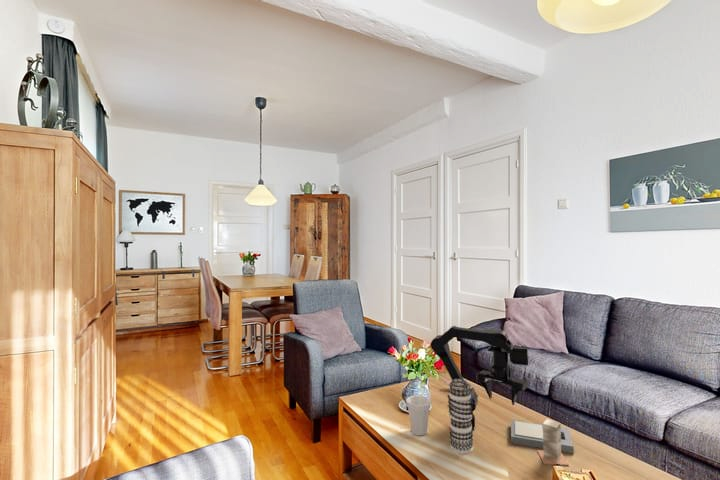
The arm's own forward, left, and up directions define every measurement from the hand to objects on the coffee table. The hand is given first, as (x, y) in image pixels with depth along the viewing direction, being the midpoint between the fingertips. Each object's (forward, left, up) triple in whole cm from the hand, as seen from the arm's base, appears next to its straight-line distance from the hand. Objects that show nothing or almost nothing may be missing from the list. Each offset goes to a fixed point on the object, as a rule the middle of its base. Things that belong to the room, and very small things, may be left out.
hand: (501, 401), depth 149 cm
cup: (-33, -3, -13) cm, 36 cm away
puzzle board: (+14, -2, -13) cm, 19 cm away
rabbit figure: (-14, +41, -13) cm, 45 cm away
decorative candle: (-17, -12, -13) cm, 25 cm away
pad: (+14, -15, -13) cm, 24 cm away
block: (+14, -15, -13) cm, 24 cm away
